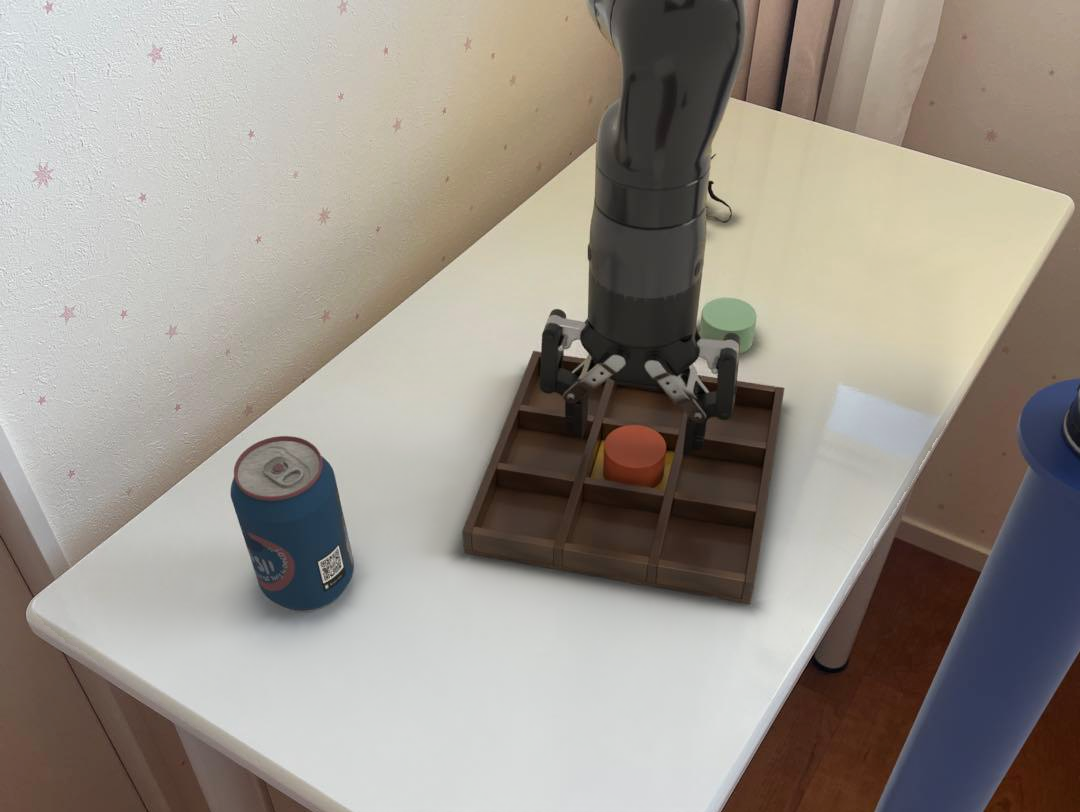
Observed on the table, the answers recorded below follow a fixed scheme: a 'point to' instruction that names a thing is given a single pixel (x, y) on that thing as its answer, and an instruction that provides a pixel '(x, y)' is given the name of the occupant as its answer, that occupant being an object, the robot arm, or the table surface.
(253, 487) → the soda can
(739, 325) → the sage token
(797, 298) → the table surface
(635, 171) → the robot arm
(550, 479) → the grid
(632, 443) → the cylinder
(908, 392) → the table surface
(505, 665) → the table surface
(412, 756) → the table surface
